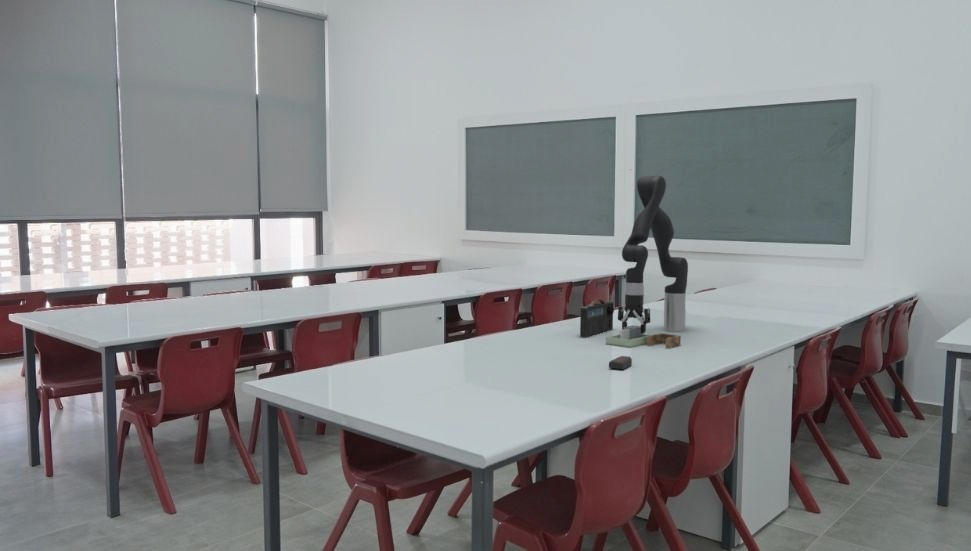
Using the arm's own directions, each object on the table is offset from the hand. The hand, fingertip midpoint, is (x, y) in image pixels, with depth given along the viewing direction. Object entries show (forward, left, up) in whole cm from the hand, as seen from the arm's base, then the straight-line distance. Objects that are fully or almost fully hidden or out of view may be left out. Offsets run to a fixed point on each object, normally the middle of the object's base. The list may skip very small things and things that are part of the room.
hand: (633, 332), depth 328 cm
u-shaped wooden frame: (-2, +13, -4) cm, 14 cm away
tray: (+3, 0, -4) cm, 5 cm away
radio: (-9, -24, -5) cm, 26 cm away
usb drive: (+44, +23, -5) cm, 49 cm away
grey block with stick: (0, 0, -4) cm, 4 cm away
